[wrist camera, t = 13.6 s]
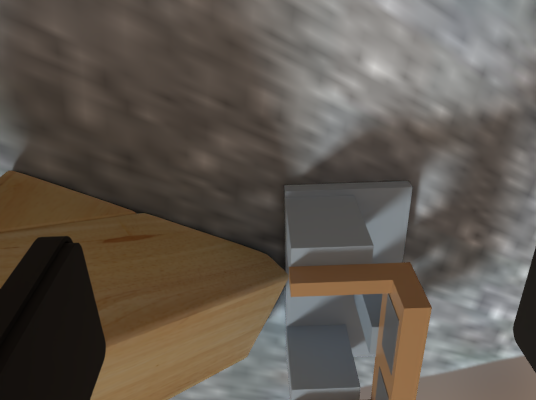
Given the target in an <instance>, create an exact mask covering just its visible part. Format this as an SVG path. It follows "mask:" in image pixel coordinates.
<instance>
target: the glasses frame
mask: <svg viewBox="0 0 536 400" xmlns="http://www.w3.org/2000/svg"><path fill="white" fill-rule="evenodd" d="M289 284H290V294H291V297H305V296H332V295H360V294H382V303H381V312H380V321H379V330H378V339H377V348H376V357H375V366H374V375H373V384H372V394H371V399H370V400H416V394H417V389H418V382H419V377H420V372H421V366H422V360H423V354H424V349H425V343H426V337H427V332H428V326H429V320H430V314H431V309H432V307H431V305H430V303H429V301H428V299H427V297H426V295H425V292H424V290H423V288H422V286H421V284H420V282H419V280H418V278H417V276H416V274H415V272H414V269H413V267H412V265H411V263H410V262H406V263H378V264H350V265H323V266H295V267H289Z"/></svg>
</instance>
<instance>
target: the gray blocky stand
mask: <svg viewBox="0 0 536 400" xmlns="http://www.w3.org/2000/svg"><path fill="white" fill-rule="evenodd" d="M411 195H412V185H411V184H410V182H409V181H390V182H361V183H332V184H303V185H284V215H285V272H286V273H287V274H288V276H289V267H295V266H323V265H350V264H378V263H403V256H404V249H405V241H406V233H407V226H408V218H409V210H410V203H411ZM381 303H382V294H360V295H332V296H305V297H291V294H290V284H289V277H288V281H287V282H286V284H285V307H286V358H287V367H288V380H289V392H290V400H359V397H360V383H359V379H358V375H357V371H356V366H355V362H354V358H353V357H366V356H376V348H377V339H378V330H379V321H380V312H381Z"/></svg>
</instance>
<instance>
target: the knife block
mask: <svg viewBox="0 0 536 400" xmlns="http://www.w3.org/2000/svg"><path fill="white" fill-rule="evenodd" d="M50 236H69V237H70V238H71V239H72V241H73V243H80V245H81V246H82V249H83V253H84V257H85V261H86V265H87V269H88V273H89V277H90V281H91V285H92V289H93V293H94V297H95V301H96V305H97V309H98V313H99V317H100V321H101V325H102V329H103V333H104V337H105V342H106V353H105V358H104V362H103V365H102V367H101V370H100V373H99V376H98V379H97V382H96V384H95V387H94V390H93V393H92V396H91V399H90V400H168V399H170V398H172V397H174V396H175V395H177V394H179V393H181V392H183V391H185V390H187V389H189V388H190V387H192V386H194V385H196V384H198V383H200V382H202V381H203V380H205V379H207V378H209V377H211V376H213V375H215V374H216V373H218V372H220V371H222V370H224V369H226V368H228V367H229V366H231V365H233V364H235V363H237V362H239V361H241V360H243V359H244V358H246V357H247V356H248V354H249V352H250V350H251V348H252V346H253V344H254V343H255V341H256V339H257V337H258V335H259V333H260V331H261V330H262V328H263V326H264V324H265V322H266V321H267V319H268V317H269V315H270V313H271V311H272V309H273V307H274V305H275V303H276V301H277V299H278V298H279V296H280V294H281V292H282V290H283V288H284V286H285V284H286V282H287V281H288V277H289V276H288V274H287V273H286V272H285V270H283V269H282V268H281V267H280V266H279V265H278V264H277V263H276V262H275V261H274V260H273V259H272V258H271V257H269V256H268V255H267V254H264V253H262V252H260V251H257V250H254V249H251V248H248V247H245V246H243V245H240V244H237V243H234V242H231V241H228V240H225V239H222V238H219V237H216V236H213V235H210V234H207V233H204V232H201V231H198V230H195V229H192V228H189V227H186V226H183V225H180V224H177V223H174V222H171V221H168V220H165V219H162V218H159V217H156V216H152V215H149V214H146V213H139V214H137V213H135V212H134V211H132V210H129V209H126V208H123V207H120V206H117V205H114V204H112V203H109V202H106V201H103V200H100V199H97V198H94V197H91V196H88V195H85V194H82V193H79V192H76V191H73V190H70V189H67V188H64V187H61V186H58V185H55V184H52V183H49V182H46V181H43V180H40V179H37V178H34V177H31V176H28V175H25V174H22V173H19V172H15V171H8V172H6V173H5V174H4V175H2V176H1V177H0V289H1V287H2V286H3V284H4V283H5V282H6V280H7V279H8V277H9V276H10V275H11V273H12V272H13V270H14V269H15V268H16V266H17V265H18V263H19V262H20V261H21V259H22V258H23V256H24V255H25V254H26V252H27V251H28V249H29V248H30V247H31V245H32V244H33V242H34V241H35V240H36V239H37V238H38V237H50Z"/></svg>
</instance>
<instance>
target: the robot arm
mask: <svg viewBox="0 0 536 400" xmlns="http://www.w3.org/2000/svg"><path fill="white" fill-rule="evenodd" d="M513 333H514V338H515V341H516V343H517V345H518V346H519V348H520V349H521V351H522V352H523V354H524V355H525V357H526V359H527V360H528V361H529V363H530V365H531V366H532V368H533V369H534V371H535V372H536V248H535V252H534V255H533V259H532V262H531V266H530V269H529V273H528V276H527V280H526V283H525V287H524V290H523V294H522V297H521V301H520V304H519V308H518V311H517V315H516V319H515V322H514V327H513ZM105 353H106V342H105V337H104V333H103V329H102V325H101V321H100V317H99V313H98V309H97V305H96V301H95V297H94V293H93V289H92V285H91V281H90V277H89V273H88V269H87V265H86V261H85V257H84V253H83V249H82V246H81V245H80V243H73V241H72V239H71V238H70V237H69V236H50V237H38V238H37V239H36V240H35V241H34V242H33V244H32V245H31V247H30V248H29V249H28V251H27V252H26V254H25V255H24V256H23V258H22V259H21V261H20V262H19V263H18V265H17V266H16V268H15V269H14V270H13V272H12V273H11V275H10V276H9V277H8V279H7V280H6V282H5V283H4V284H3V286H2V287H1V289H0V400H90V399H91V396H92V393H93V390H94V387H95V384H96V382H97V379H98V376H99V373H100V370H101V367H102V365H103V362H104V358H105Z"/></svg>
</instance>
